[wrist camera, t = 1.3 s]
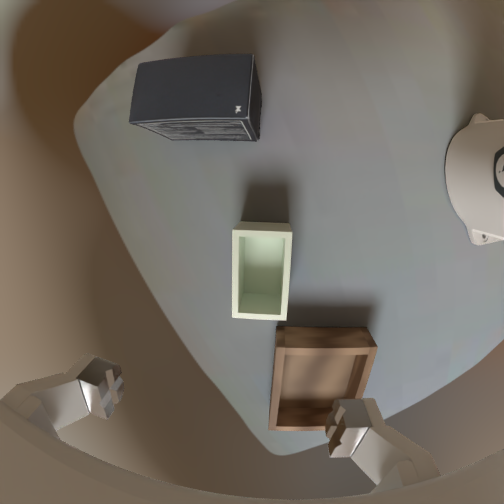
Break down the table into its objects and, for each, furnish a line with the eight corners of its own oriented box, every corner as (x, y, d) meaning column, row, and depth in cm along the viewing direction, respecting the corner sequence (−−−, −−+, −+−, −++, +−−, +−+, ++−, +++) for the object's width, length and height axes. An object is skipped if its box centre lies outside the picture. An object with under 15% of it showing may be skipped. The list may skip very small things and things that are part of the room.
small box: (263, 89, 28) (257, 49, 18) (259, 142, 29) (251, 122, 19) (175, 91, 28) (136, 60, 18) (170, 141, 30) (126, 126, 20)
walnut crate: (366, 327, 33) (377, 347, 29) (344, 406, 37) (350, 428, 32) (276, 326, 34) (276, 347, 29) (269, 407, 38) (268, 430, 33)
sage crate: (289, 223, 31) (292, 232, 25) (284, 297, 33) (286, 320, 27) (240, 221, 32) (232, 229, 26) (239, 295, 34) (232, 317, 28)
